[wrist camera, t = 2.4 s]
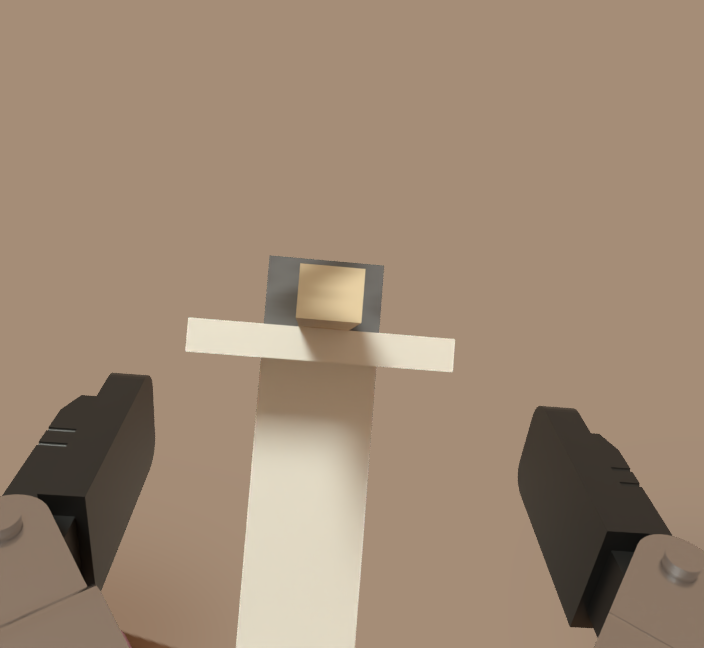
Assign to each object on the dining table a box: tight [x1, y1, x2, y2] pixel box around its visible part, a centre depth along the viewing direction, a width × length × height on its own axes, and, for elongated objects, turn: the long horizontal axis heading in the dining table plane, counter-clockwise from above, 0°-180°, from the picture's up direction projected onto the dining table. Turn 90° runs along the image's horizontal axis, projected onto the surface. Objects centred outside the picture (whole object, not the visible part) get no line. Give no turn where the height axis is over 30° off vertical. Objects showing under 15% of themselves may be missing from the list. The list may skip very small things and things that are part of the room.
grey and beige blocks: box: [264, 256, 384, 333], centre depth 39 cm, size 8×21×5 cm, turn 4°
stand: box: [185, 318, 455, 648], centre depth 43 cm, size 16×13×32 cm
